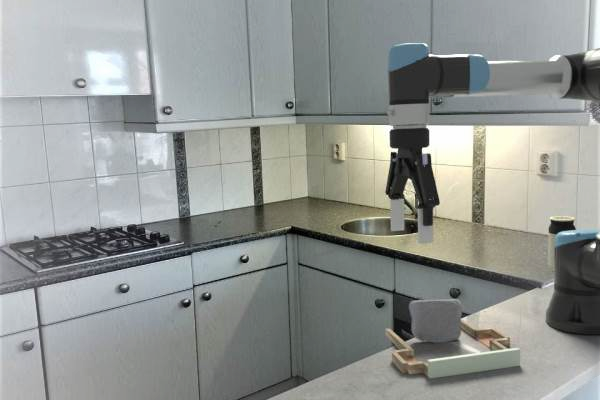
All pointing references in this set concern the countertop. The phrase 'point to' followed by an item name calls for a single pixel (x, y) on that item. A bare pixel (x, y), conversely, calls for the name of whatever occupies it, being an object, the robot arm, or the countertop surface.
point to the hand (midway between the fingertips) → (410, 236)
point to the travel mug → (555, 227)
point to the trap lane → (461, 363)
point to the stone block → (436, 319)
